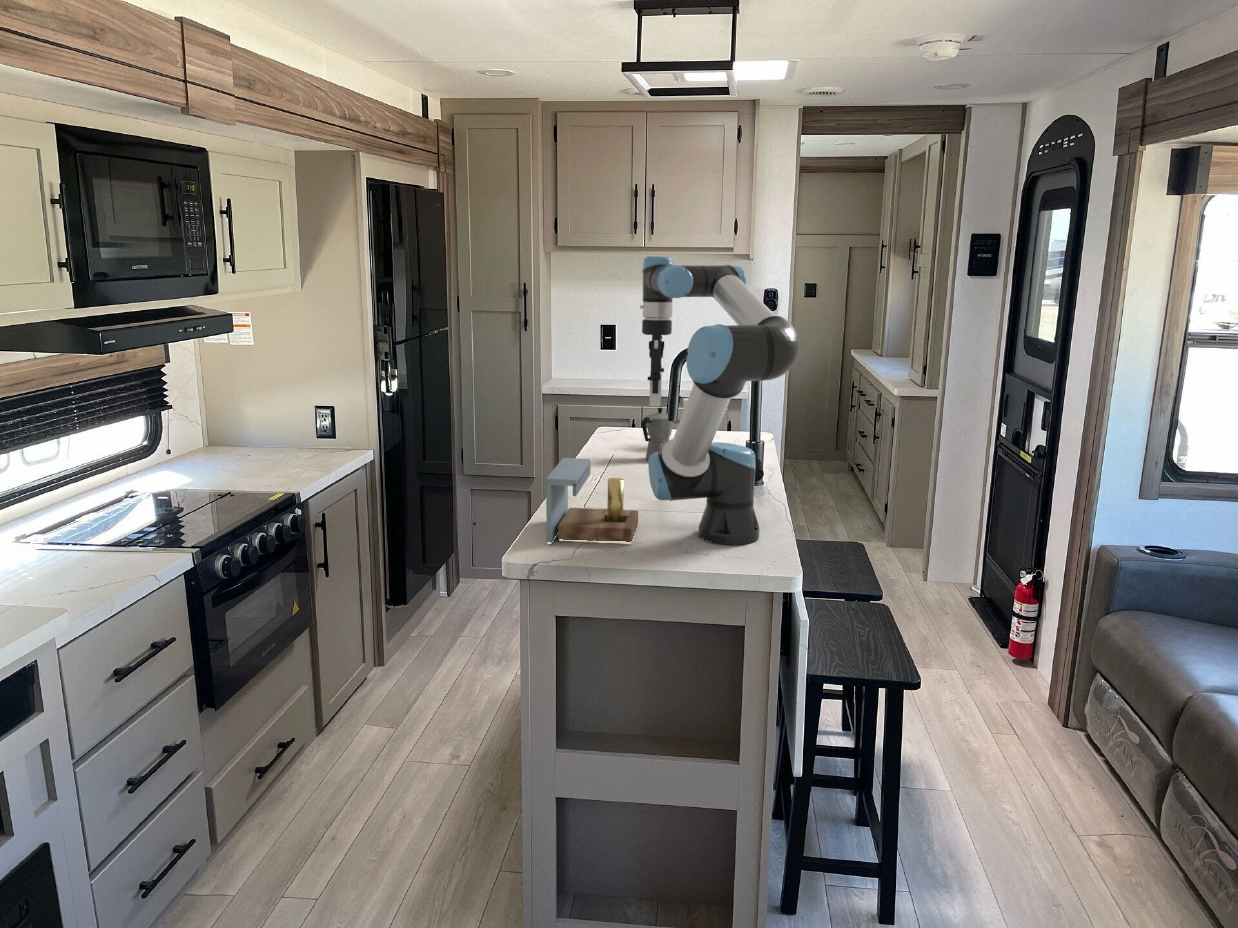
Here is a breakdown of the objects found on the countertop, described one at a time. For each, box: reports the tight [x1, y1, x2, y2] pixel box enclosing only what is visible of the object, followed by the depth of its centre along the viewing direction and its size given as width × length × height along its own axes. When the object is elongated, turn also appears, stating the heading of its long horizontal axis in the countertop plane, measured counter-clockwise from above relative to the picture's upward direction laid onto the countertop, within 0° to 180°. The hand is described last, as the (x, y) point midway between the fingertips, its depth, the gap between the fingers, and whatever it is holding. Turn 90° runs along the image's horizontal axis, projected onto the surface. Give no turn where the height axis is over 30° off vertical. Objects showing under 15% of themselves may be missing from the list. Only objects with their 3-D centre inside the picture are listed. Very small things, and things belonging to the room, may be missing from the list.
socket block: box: [557, 507, 639, 542], centre depth 230 cm, size 18×16×4 cm
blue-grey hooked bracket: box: [545, 457, 591, 543], centre depth 229 cm, size 7×22×16 cm, turn 173°
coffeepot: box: [641, 407, 674, 463], centre depth 306 cm, size 15×9×18 cm, turn 137°
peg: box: [606, 477, 625, 523], centre depth 228 cm, size 4×4×14 cm
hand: (655, 401), depth 236 cm, fingers open, 13 cm apart
